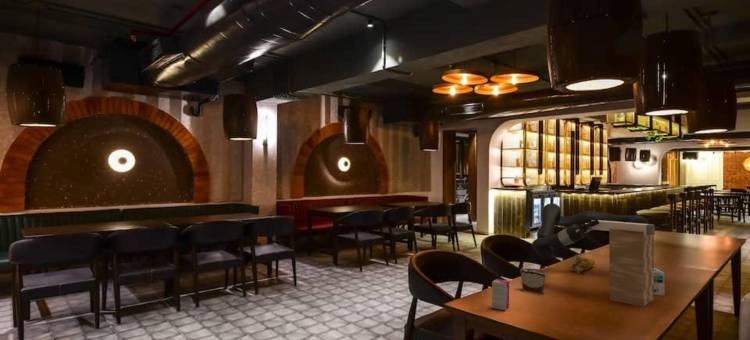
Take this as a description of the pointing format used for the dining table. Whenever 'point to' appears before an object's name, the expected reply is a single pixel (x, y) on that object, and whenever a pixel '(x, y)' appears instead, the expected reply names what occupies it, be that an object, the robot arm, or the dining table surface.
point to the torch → (582, 264)
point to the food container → (533, 280)
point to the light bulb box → (659, 282)
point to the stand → (631, 267)
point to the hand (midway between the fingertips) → (601, 220)
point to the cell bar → (625, 226)
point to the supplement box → (500, 295)
